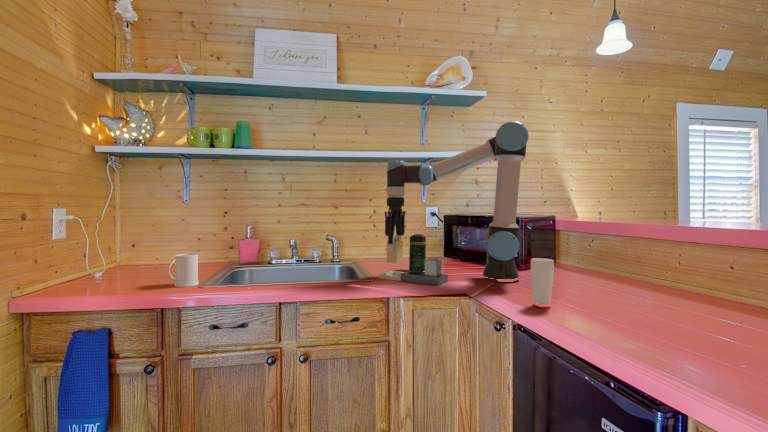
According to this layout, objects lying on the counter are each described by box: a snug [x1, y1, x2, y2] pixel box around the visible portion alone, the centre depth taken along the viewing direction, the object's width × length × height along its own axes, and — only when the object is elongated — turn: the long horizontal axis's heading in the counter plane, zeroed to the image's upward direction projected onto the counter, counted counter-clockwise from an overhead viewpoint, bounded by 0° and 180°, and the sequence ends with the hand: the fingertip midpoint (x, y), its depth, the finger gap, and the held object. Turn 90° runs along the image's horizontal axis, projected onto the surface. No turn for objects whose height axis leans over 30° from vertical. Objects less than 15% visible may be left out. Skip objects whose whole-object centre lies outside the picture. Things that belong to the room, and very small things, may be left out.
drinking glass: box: [530, 257, 555, 304], centre depth 117 cm, size 7×7×15 cm
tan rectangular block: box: [386, 239, 404, 264], centre depth 159 cm, size 5×5×10 cm
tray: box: [378, 270, 405, 281], centre depth 160 cm, size 9×11×2 cm
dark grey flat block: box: [400, 270, 449, 287], centre depth 151 cm, size 17×9×4 cm, turn 57°
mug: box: [167, 253, 200, 288], centre depth 144 cm, size 12×8×12 cm
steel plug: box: [425, 257, 443, 277], centre depth 149 cm, size 5×5×10 cm
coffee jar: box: [408, 233, 427, 272], centre depth 177 cm, size 10×8×19 cm
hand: (394, 250), depth 159 cm, fingers closed on tan rectangular block, 5 cm apart
